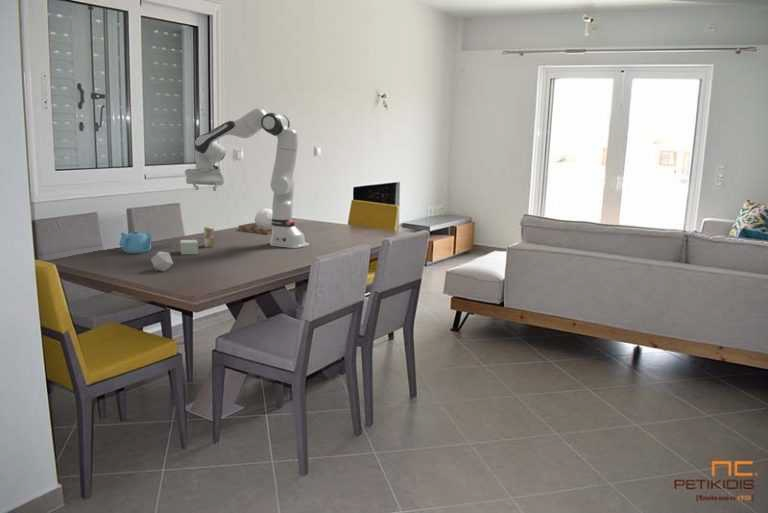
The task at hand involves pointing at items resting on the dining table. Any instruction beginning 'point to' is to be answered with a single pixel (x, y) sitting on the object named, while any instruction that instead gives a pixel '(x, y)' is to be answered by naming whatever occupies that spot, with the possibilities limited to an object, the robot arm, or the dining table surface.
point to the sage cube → (189, 246)
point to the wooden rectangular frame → (254, 228)
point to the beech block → (209, 236)
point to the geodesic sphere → (264, 218)
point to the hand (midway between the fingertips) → (205, 189)
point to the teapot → (135, 242)
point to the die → (162, 261)
